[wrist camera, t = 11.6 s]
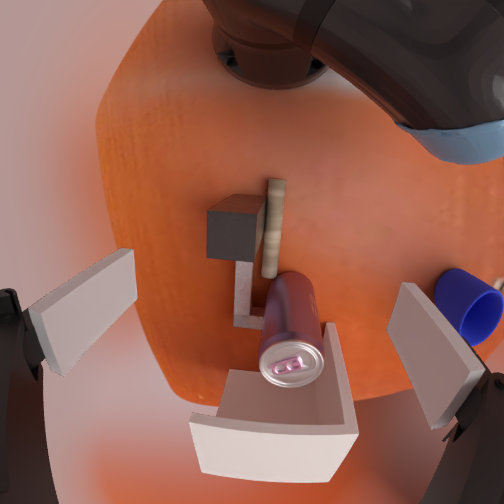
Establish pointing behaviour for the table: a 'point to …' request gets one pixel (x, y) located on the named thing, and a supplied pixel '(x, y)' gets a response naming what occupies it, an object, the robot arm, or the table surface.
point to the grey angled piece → (239, 248)
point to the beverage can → (291, 333)
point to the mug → (468, 305)
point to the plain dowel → (273, 227)
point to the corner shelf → (280, 425)
